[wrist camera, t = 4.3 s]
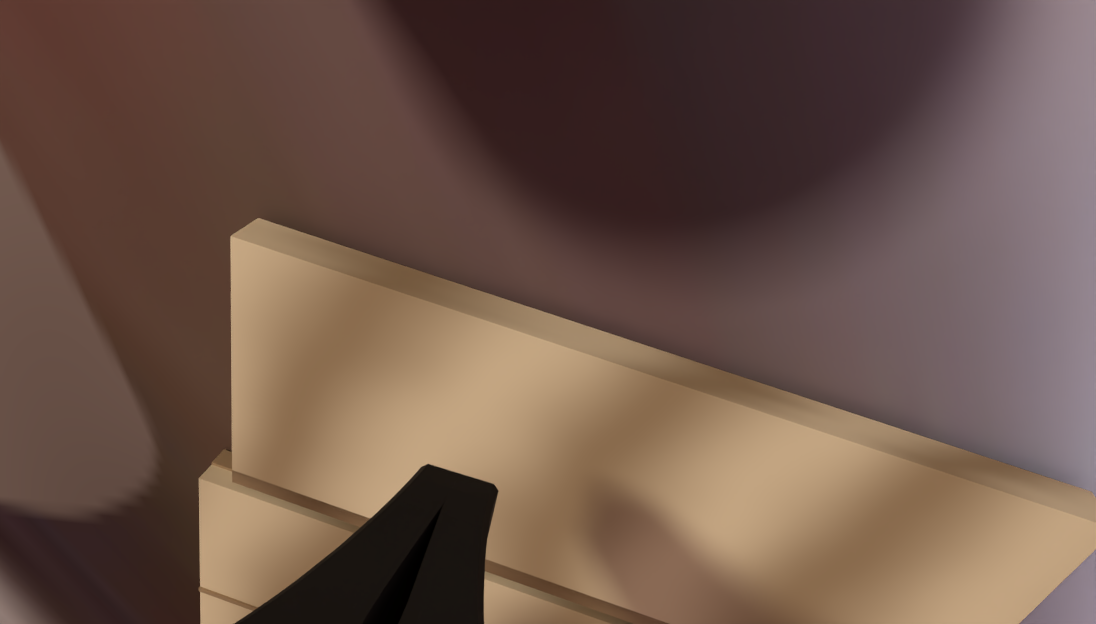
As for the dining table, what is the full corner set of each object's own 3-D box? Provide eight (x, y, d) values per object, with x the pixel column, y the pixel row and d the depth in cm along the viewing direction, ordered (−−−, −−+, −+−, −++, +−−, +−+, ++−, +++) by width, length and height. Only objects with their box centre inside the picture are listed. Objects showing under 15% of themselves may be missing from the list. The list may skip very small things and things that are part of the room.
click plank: (1092, 492, 15) (1115, 529, 14) (906, 684, 20) (916, 723, 19) (258, 217, 16) (230, 236, 15) (254, 456, 21) (232, 482, 20)
